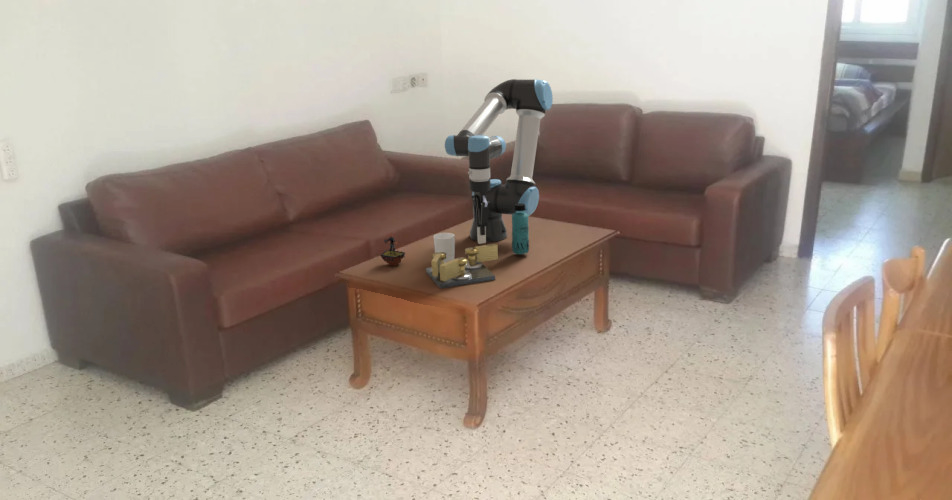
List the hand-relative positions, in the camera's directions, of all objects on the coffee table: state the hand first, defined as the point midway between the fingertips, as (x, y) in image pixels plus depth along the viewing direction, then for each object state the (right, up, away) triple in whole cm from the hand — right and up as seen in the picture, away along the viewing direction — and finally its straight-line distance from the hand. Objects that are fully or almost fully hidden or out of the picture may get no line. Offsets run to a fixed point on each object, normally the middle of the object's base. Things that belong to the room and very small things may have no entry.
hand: (481, 242), depth 288 cm
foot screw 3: (0, -7, -4) cm, 8 cm away
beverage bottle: (+15, -5, +10) cm, 18 cm away
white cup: (-14, -7, +7) cm, 17 cm away
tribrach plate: (-8, -12, -9) cm, 17 cm away
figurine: (-33, -8, +5) cm, 34 cm away
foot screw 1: (-15, -10, -11) cm, 22 cm away
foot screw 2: (-10, -12, -17) cm, 23 cm away
